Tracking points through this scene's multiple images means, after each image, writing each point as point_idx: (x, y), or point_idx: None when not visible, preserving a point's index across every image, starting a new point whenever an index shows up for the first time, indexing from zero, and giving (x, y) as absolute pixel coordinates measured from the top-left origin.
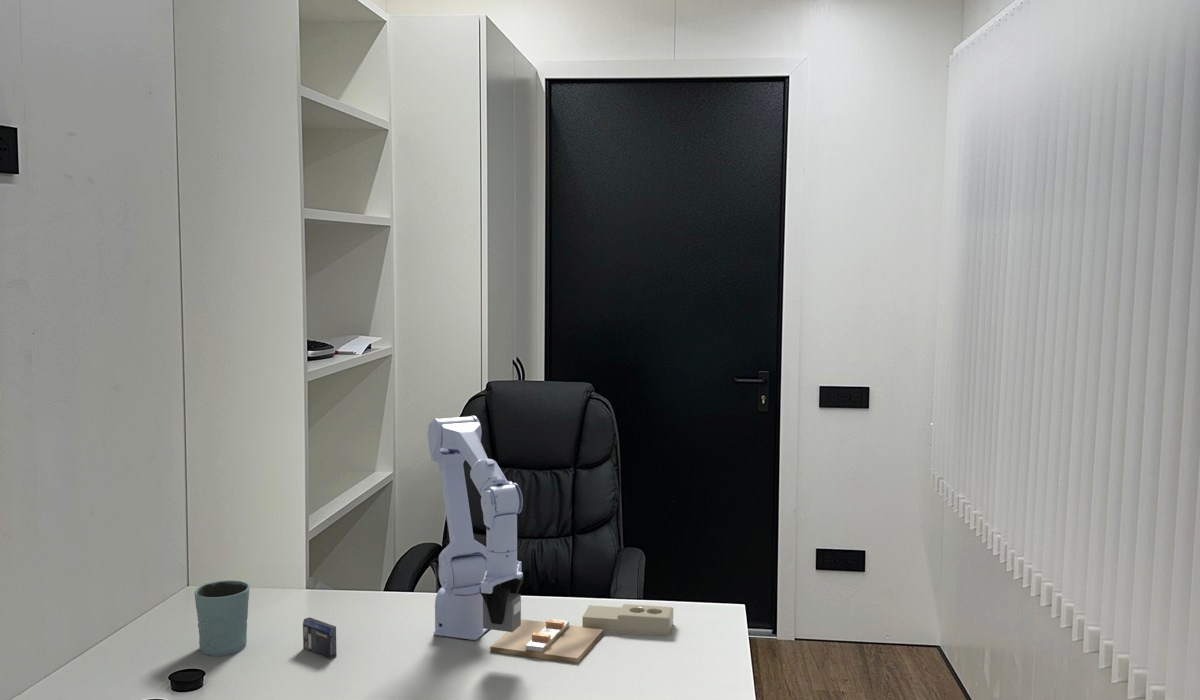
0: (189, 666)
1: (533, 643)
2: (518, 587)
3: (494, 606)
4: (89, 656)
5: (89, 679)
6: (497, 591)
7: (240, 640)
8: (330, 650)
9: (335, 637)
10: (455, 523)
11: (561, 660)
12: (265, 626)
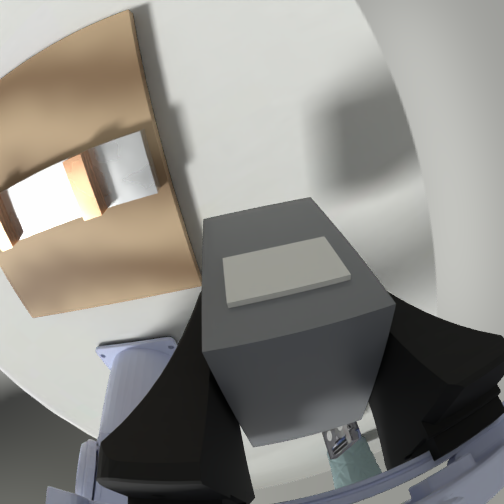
0: None
1: (129, 181)
2: (178, 417)
3: None
4: (377, 451)
5: None
6: (491, 388)
7: (353, 447)
8: None
9: (349, 427)
10: None
11: (141, 60)
12: (287, 460)
